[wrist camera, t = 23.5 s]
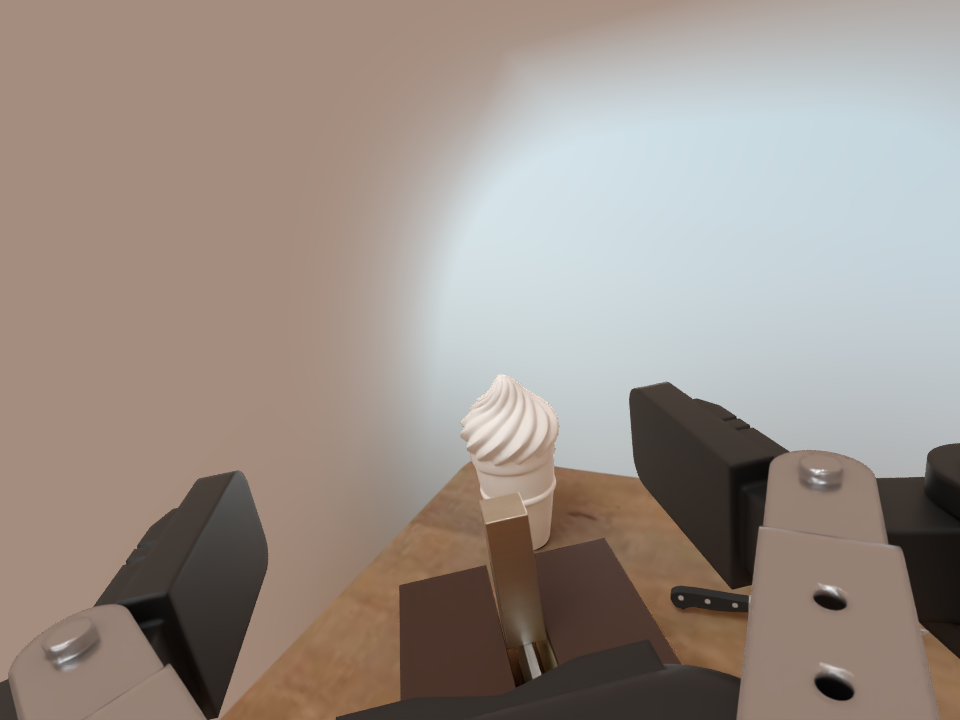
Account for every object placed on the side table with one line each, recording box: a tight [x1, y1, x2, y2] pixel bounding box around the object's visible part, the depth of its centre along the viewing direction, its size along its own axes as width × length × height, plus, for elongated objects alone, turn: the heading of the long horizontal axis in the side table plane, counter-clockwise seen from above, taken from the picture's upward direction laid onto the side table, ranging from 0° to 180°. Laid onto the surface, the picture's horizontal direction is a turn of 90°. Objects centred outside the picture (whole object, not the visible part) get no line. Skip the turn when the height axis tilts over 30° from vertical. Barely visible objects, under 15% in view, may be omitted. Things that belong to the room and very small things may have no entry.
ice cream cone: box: [460, 375, 559, 550], centre depth 48 cm, size 8×8×16 cm
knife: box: [671, 586, 930, 635], centre depth 36 cm, size 15×1×2 cm, turn 67°
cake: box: [399, 538, 681, 701], centre depth 30 cm, size 16×14×7 cm
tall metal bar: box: [479, 492, 547, 683], centre depth 31 cm, size 10×2×15 cm, turn 8°
